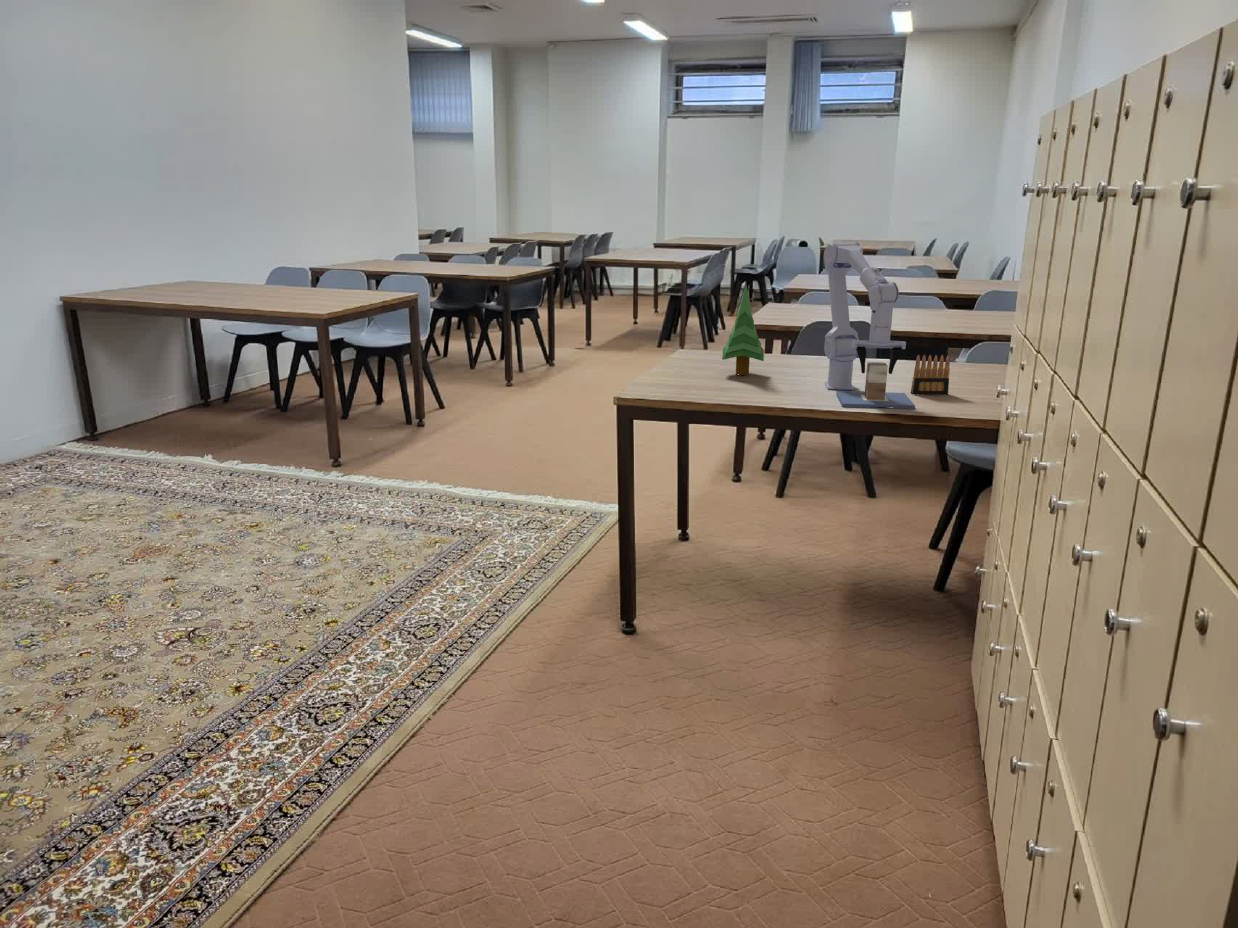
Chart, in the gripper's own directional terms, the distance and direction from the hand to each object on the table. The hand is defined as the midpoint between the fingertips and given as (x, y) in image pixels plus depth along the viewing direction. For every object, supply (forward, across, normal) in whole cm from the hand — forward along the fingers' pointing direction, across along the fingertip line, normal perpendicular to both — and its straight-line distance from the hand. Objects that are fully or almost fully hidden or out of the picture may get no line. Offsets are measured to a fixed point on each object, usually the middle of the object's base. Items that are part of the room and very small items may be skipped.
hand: (876, 373), depth 254 cm
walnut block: (+7, 0, 0) cm, 7 cm away
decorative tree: (+9, -38, +34) cm, 52 cm away
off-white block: (+2, 0, 0) cm, 2 cm away
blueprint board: (+8, 0, 0) cm, 8 cm away
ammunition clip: (+9, +18, +12) cm, 23 cm away
